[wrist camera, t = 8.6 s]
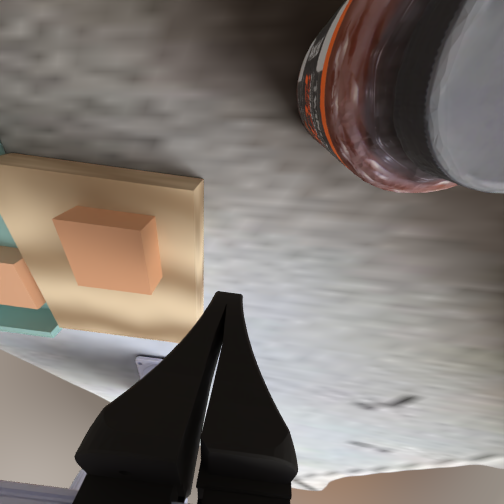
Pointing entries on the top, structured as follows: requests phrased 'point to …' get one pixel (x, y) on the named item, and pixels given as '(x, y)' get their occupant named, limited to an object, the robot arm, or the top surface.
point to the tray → (19, 317)
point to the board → (118, 199)
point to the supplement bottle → (410, 93)
